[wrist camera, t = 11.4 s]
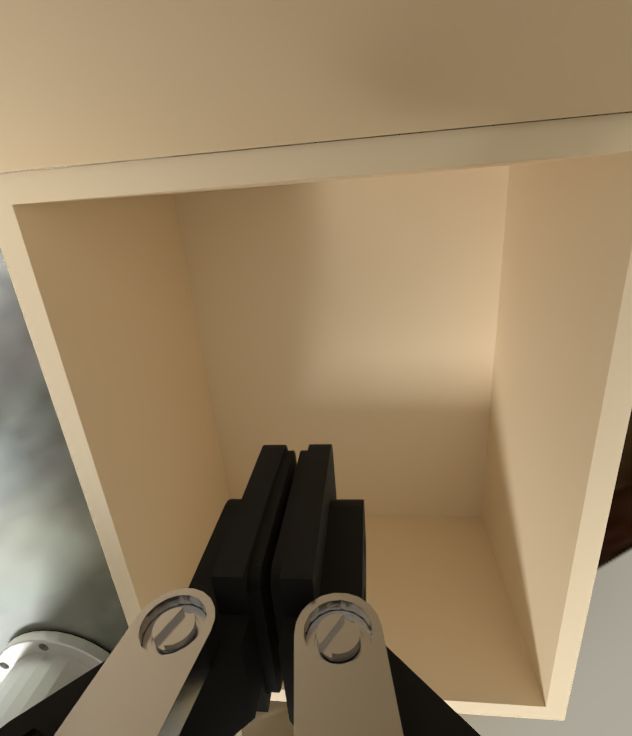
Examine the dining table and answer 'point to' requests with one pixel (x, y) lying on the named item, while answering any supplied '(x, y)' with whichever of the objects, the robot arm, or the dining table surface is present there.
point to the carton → (356, 368)
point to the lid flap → (293, 72)
